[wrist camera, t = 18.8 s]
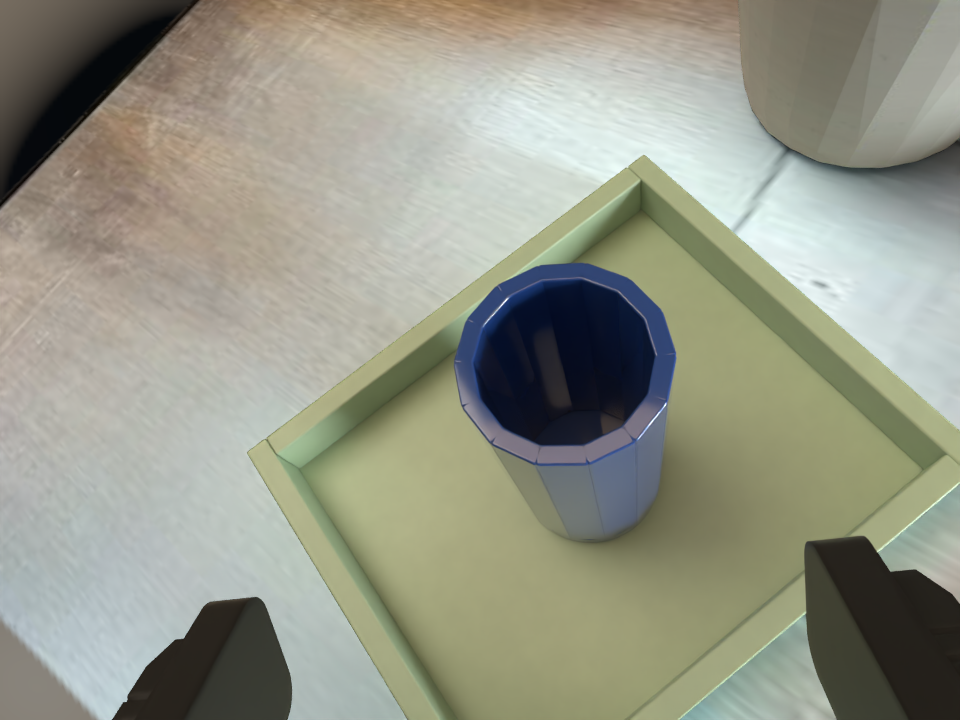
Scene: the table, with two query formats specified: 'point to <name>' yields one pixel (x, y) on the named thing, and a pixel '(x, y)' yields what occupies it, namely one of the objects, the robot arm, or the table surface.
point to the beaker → (572, 395)
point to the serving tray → (664, 531)
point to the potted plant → (854, 77)
